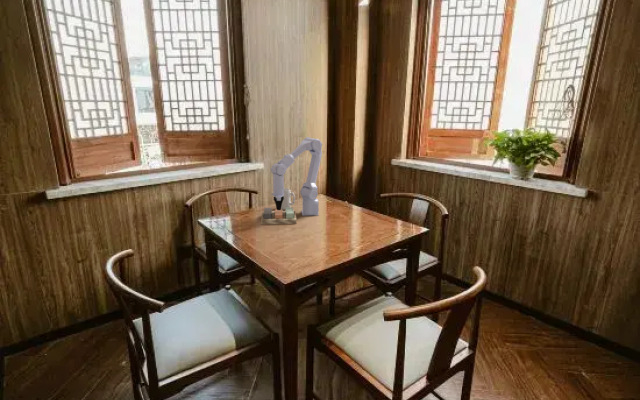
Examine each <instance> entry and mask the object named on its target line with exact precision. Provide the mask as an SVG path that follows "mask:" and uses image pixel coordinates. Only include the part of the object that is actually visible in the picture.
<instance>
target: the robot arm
mask: <svg viewBox="0 0 640 400" xmlns="http://www.w3.org/2000/svg"><path fill="white" fill-rule="evenodd" d="M322 146H323V143H322V141H321V140H320V139H319V138H312V137H305V138H304V139H303V140H301V142H300V144H299V145H298V146H297V147H296V148H295V149H294V150H293V151H292V152H291V153H289V154H284V155H283V157H282V158H281V159H280V160H278V161H277V162H276V163H274V164H272V166H271V168H270V172H271V173H272V183H273V184H272V186H273V187H272V193H271V194H270V195H271V196H273V201H274V203H275V207H276V209H277V210H281V206H282V202H283V200H284V188H285V182H284V181H285V179H284V178H285V177H284V175H286V172H287V170H288V168H289V167H291V166H292V165H293V164H294V163H295V159H297V158H298V157H299V156H301V154H303V153H304V152H305V151H309V153H310V154H311V158H310V163H309V168H308V170H307V171H308V172H307V176H306V181H305V182H303V184H302V187H301V189H300V191H299V194H300V196H301V199H302V210H301V215H302V216H319V199H318V198H317V197H318V186H317V185H316V183H317V178H318V174H319V169H320V165H321V161H322V156H323V151H322Z"/></svg>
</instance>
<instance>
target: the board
mask: <svg viewBox="0 0 640 400" xmlns="http://www.w3.org/2000/svg"><path fill="white" fill-rule="evenodd" d="M293 212H294V219H286V210H282V214H283V219H275V210H272V218H271V219H264V210H262V211H261V218H260V225H296V224H297V215H296V210H295V211H294V210H293Z"/></svg>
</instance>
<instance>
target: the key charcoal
mask: <svg viewBox="0 0 640 400" xmlns="http://www.w3.org/2000/svg"><path fill="white" fill-rule="evenodd" d="M263 211H264V219H272V211H273V210H272V207H264V209H263Z"/></svg>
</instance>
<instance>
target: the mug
mask: <svg viewBox="0 0 640 400" xmlns="http://www.w3.org/2000/svg"><path fill="white" fill-rule="evenodd" d="M291 196H292V197H293V200H292V201H291ZM295 201H296V195H295V193H294V192H291V188H286V187H284V200H283V202H282V206H281V209H282V211H286V208H287V207H291V206H294V204H295Z"/></svg>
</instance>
